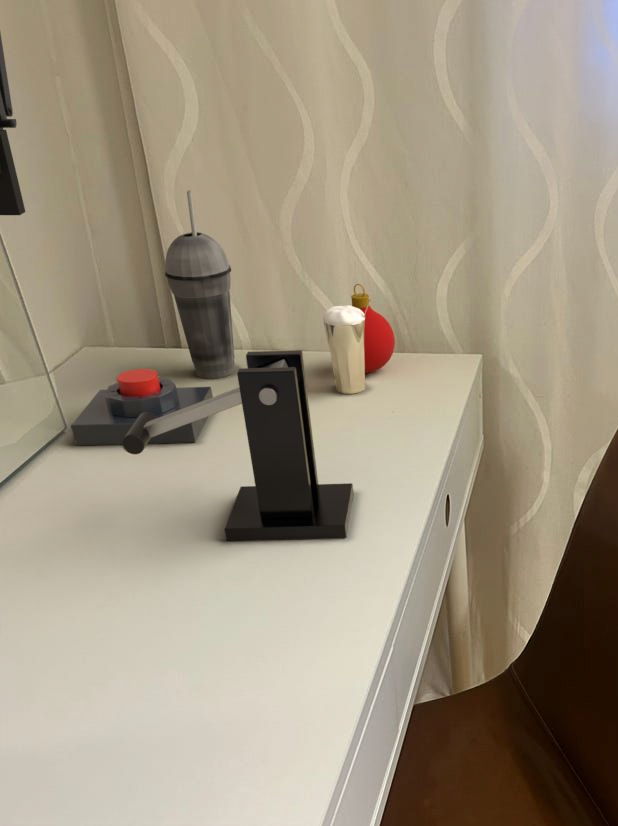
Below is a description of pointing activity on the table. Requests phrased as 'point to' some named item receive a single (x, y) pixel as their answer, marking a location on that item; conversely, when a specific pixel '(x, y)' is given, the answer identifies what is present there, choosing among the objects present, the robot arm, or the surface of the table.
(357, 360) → the milkshake
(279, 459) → the bracket
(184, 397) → the control block
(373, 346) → the christmas ornament
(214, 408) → the lever
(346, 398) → the table surface
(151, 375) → the button
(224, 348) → the beverage cup
